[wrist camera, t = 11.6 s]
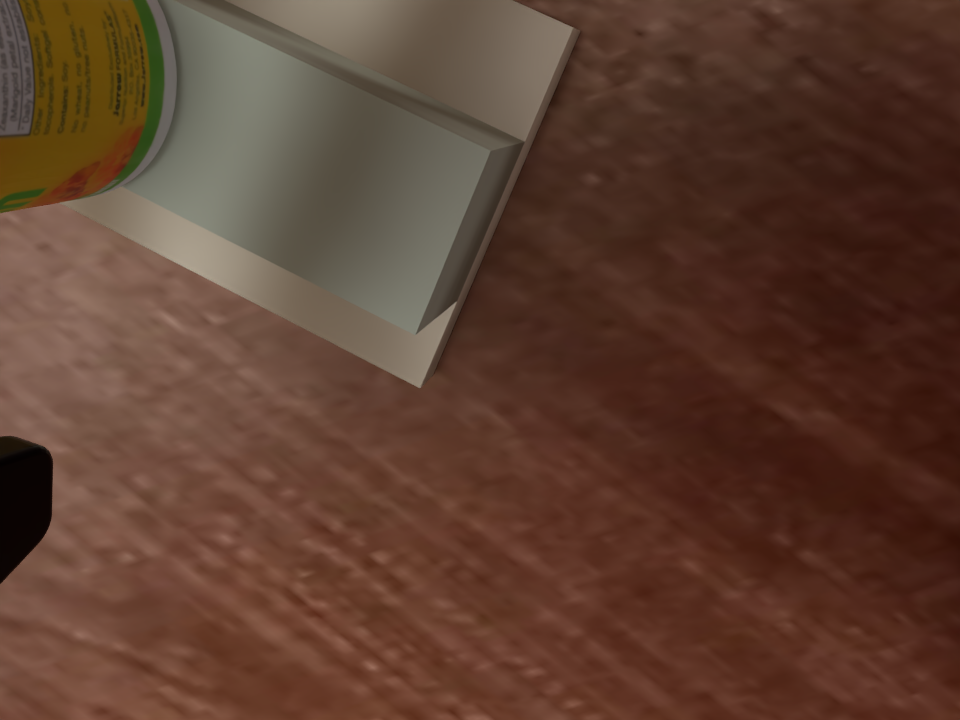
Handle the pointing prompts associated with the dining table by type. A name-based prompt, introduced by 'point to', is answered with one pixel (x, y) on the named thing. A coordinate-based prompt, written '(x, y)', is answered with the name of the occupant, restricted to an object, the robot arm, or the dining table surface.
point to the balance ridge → (344, 158)
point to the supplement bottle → (81, 96)
